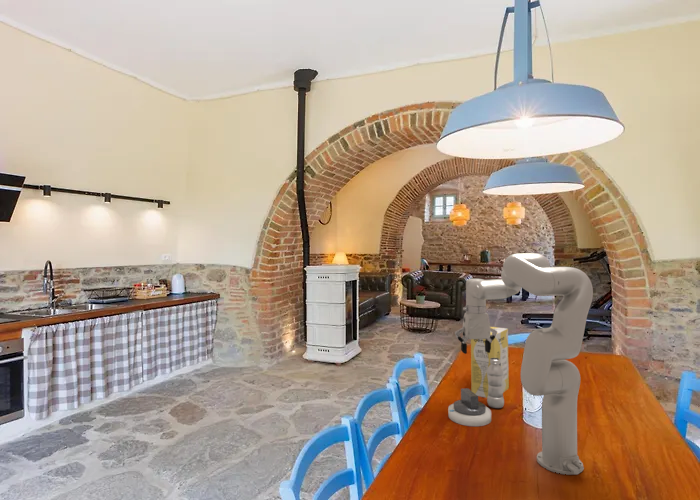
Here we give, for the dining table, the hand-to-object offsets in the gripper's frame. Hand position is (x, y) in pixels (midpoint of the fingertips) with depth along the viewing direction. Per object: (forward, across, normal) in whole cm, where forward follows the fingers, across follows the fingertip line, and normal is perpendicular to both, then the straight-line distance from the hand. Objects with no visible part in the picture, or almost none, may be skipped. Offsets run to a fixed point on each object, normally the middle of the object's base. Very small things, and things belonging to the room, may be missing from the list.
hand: (476, 352), depth 163 cm
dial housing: (+24, -4, -4) cm, 25 cm away
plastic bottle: (+24, +10, +4) cm, 27 cm away
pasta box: (+25, +17, +23) cm, 37 cm away
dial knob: (+21, -5, -4) cm, 22 cm away
